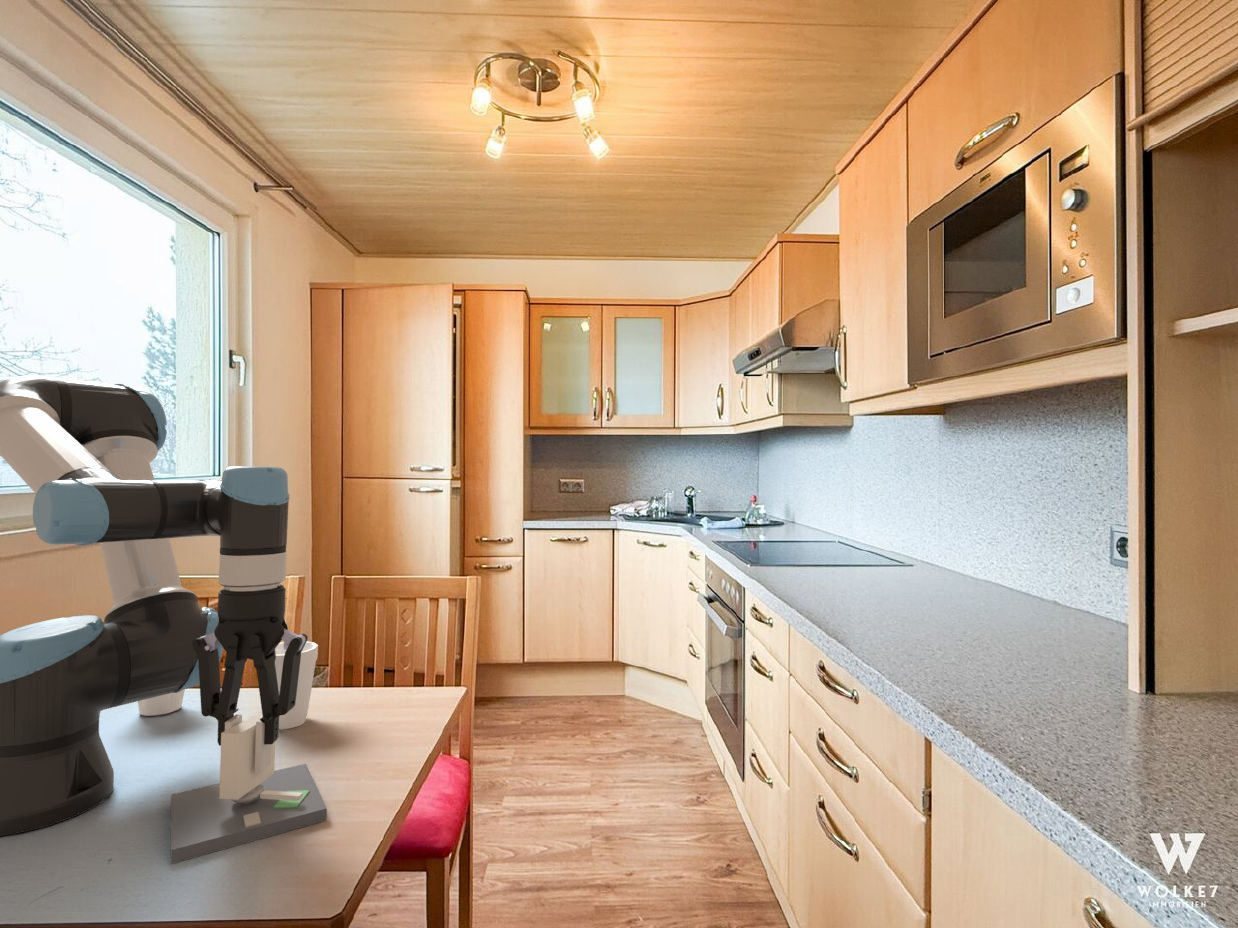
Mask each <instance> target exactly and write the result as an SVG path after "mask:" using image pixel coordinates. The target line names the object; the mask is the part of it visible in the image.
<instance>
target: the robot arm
mask: <svg viewBox="0 0 1238 928" xmlns="http://www.w3.org/2000/svg"><path fill="white" fill-rule="evenodd" d="M167 425H168V423H167V416H166V413H165V409H164V407H163V405H162V403H161V402H160V400H159V398H158V397H157V396H156V395H155V394H153V393H152V392H151V391H149V390H147V389H144V388H141V387H137V386H136V387H135V386H130V385H127V384H123V383H114V384H108V383H100V382H93V381H86V380H85V381H84V380H78V379H77V380H76V379H67V378H59V377H58V378H57V377H51V376H41V375H24V376H15V377H12V378H7V379H4V380H2V381H1V380H0V457H2V459H3V460H4V461H5V462H6V464H8V465H9V466H10V467H11V469H12V470H14V472H15V473H16V474H17V475H18V476H19V477H20V478H21V480H22V481H23V482H25V484H26V485H27V486H28V487H29V488H30V489H31V491H33V492H34V494H35V495H34V499H33V503H32V521H33V526H34V527H35V532H36V535H37V537H38V538H39V540H41V541H42V542H44V543H46V544H49V545H55V546H59V545H76V546H87V545H88V546H89V545H92V544H100V547H101V553H102V556H103V561H104V565H105V570H106V574H107V579H108V583H109V589H110V593H111V596H112V597H111V598H112V602H113V605H112V607H111V608H110V609H109V610H108V611H107V612H106V613H105V615H104V617H103V620H102V618H101V617H100V616H97V615H91V614H87V615H82V614H81V615H74V616H70V617H60V618H53V619H48V620H43V621H40V622H39V621H38V622H35V623H31V624H27V625H24V626H20V627H17V628H13V629H12V630H9V631H7V632H4V633H2V634H0V836H7V835H8V836H9V835H13V834H19V833H23V832H24V833H26V832H29V831H32V830H37V829H42V828H44V827H47V826H51V825H54V824H57V823H60V822H63V821H66V820H68V819H70V818H74V817H75V816H77V815H80V814H82V813H85V812H86V811H89V810H90V809H93V808H95V807H96V806H97V805H100V804H101V803H102V802H103V801H105V800H106V799H107V798H108V797H109V796H110V795H111V794H112V792H113V790H114V782H115V781H114V780H115V772H114V768H113V765H112V763H111V761H110V758H109V756H108V752H107V749H106V748H105V746H104V743H103V740H102V739H101V736H100V715H101V712H102V711H104V710H107V709H108V710H109V709H112V708H115V707H116V708H117V707H121V706H124V705H127V704H132V703H138V701H141V700H145V699H149V698H153V697H157V696H161V695H165V694H169V693H178V692H180V691H182V690H184V689H185V690H186V689H187V690H188V689H190V688H193V687H197V686H199V695H200V712H201V713H200V714H201V716H203V717H205V718H206V717H212V718H214V719H215V720H217V744H218V746H219V747H221V733H222V732H224V731H226V730H228V729H229V728H231V727H233V726H235V725H237V724H239V723H240V722H242V721H243V714H235V713H236V712H238V711H239V710H240V709H239V707H238V701H239V695H240V690H241V686H242V681H243V675H244V669H245V665H246V662H247V661H248V660H252V661H253V667H254V668H255V669H256V674H257V675H256V677H257V682H258V683H257V684H258V691H259V698H260V699H259V700H260V707H261V712H262V715H263V717H262V718H260V719H259V720H258V721H257V722H256V743H255V774H261V773H262V772H263V771H264V770H265V769H266V768H267V767H268V766H269V765H270V764H271V744H273V743H274V742H275V743H276V741H277V740H278V738H279V731H280V730H279V716H280V715H285V714H286V713H287V712H289V711H290V710H291V709H292V708H293V707H294V706H295V702H296V694H297V685H298V677H299V668H300V659H301V652H302V650H303V648H304V646H305V644H306V642H307V641H308V639H309V638H308V635H307V634H306V633H300V634H297V633H295V632H294V631H291V630H289V627H288V624H287V623H286V621H285V612H286V589H287V588H286V587H285V586H284V585H283V584H282V583H283V582H285V580H286V577H287V576H286V575H287V545H288V544H287V543H288V525H289V524H288V523H289V522H288V521H289V520H288V519H289V501H290V494H289V484H288V483H289V480H288V478H289V477H288V473H287V471H286V470H285V469H284V468H282V467H278V466H277V467H275V466H274V467H273V466H228V467H227V468H225V469H224V470H223V472H222V477H221V480H215V479H195V480H155V478H154V473H153V470H152V466H151V463H152V462H154V460H155V459H156V457H157V455H158V452H159V451H160V450H161V449H162V448H163V446H164V444H165V442H166V440H167V439H166V438H167V433H168V430H167V429H166V426H167ZM207 536H208V537H209V536H210V537H219V539H220V541H219V546H220V547H219V570H218V584H219V585H220V586H222V588H221V589H220V591H218V594H217V595H218V596H217V597H218V600H217V610H215V608H212V607H206V606H202V607H201V606H200V604H199V600H198V597H197V593H196V592H194V591H192V590H190V589H188V588H185V587H183V586H182V582H181V579H180V574H179V570H178V566H177V562H176V557H175V555H174V551H173V548H172V542H171V539H180V538H194V537H207ZM282 640H283V642H284V649H285V650H286V652H285V655H284V660H283V669H282V677H281V686H280V694H279V690H278V683H277V675H276V668H275V660H276V654H275V648H276V647H277V645H278V644H279V643H281V642H282ZM224 651H225V652H226V654H225V658H224V668H225V669H224V674H223V679H222V686H221V673H220V672H221V671H220V662H221V659H222V654H223V652H224Z"/></svg>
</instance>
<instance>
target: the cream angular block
mask: <svg viewBox="0 0 1238 928" xmlns="http://www.w3.org/2000/svg"><path fill="white" fill-rule="evenodd" d="M262 717H263V715H262V711H261V712H260V711H258V712H256V713H255V714H253V715H252V716H250V717H248V718H246V719H244V720H242V722H240V723H239V724H237V725H235V726H233V727H231V728H229V729H228V730H226V731H224V732H222V733H221V746H220V758H219V759H220V762H219V763H220V766H219V783H220V795H219V799H231V800H232V801H233V802H236V803H241V804H249V803H252V802H253V801H254V800H255V799H258V798H259V797H260V798H261V799H276V800H290V801H299V800H300V799H301V798H303V793H299V792H284V791H269V790H264V787H263V786H262V785H259V784H260V783H262V782H263V781H264V780H266V779H267V778H269V777H270V776H271V775H273V774H274V771H275V758H276V757H275V756H276V755H275V753H276V752H275V751H276V741H275V742H274V743H273V744H271V764H270V765H269V766H268V767H267V768H266V769H265V770H264V771H263V772H262V773H261V774H255V743H256V722H257V721H258V720H259V719H260V718H262Z"/></svg>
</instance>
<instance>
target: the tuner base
mask: <svg viewBox="0 0 1238 928" xmlns="http://www.w3.org/2000/svg"><path fill="white" fill-rule="evenodd" d="M311 773H312V772H311V771H310V769H309V767H308V765H307V763H304V764H303V763H302V764H298V765H294V766H290V767H286V768H282V769H281V768H280V769H276V770H274V774H273V775H271V776H270V777H269V778H267V779H266V780H264V781H263V782H262V783H260V784H259V785H262V786H263V787H264V790H269V791H284V792H299V793H303V798H301V799H300V800H299V801H290V800H276V799H261V798H260V797H259V798H258V799H255V800H254V801H253V802H252V803H249V804H241V803H236V802H233V801H232V800H231V799H219V795H220V782H219V783H215V784H211V785H210V784H209V785H207V786H206V785H205V786H203V787H197V788H193V789H188V790H184V791H183V790H182V791H180V792H174V793H171V796H170V797H171V798H170V864H174V863H175V864H177V863H178V862H182V861H185V860H186V861H187V860H190V859H193V858H197V857H200V856H203V855H207V854H211V853H214V852H218V851H221V850H225V849H229V848H233V847H236V846H240V845H243V844H247V843H250V842H255V841H257V840H260V839H265V838H269V837H271V836H275V835H279V834H283V833H286V832H291V831H293V830H298V829H300V828H304V827H308V826H312V825H315V824H318V823H323V822H325V821H327V815H328V814H327V810H328V809H327V806H326V804H325V802H324V800H323V798H322V795H321V793H320V790H319V788H318V787H317V785H316V782H315V780H314V778H313V775H312V774H311Z"/></svg>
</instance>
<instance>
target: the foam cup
mask: <svg viewBox="0 0 1238 928" xmlns="http://www.w3.org/2000/svg"><path fill="white" fill-rule="evenodd" d="M285 652H286V650H285V649H284V641H283V642H282V641H281V642H280V643H279V644H278V645H277V647H276V648H275V654H276V660H275V668H276V675H277V683H278V690H279V694H280V686H281V677H282V669H283V660H284V655H285ZM318 656H319V644H317V643H316V642H312V641H308V640H307V642H306V644H305V646H304V648H303V650H302V652H301V659H300V668H299V677H298V685H297V694H296V702H295V706H294V707H293V708H292V709H291V710H290V711H289V712H287V713H286V714H285V715H280V716H279V731H280V730H281V731H282V730H288V729H292V728H296V727H299V726H301V725H303V724H304V723H306V721H307V717H308V713H309V706H310V700H311V694H312V688H313V683H314V682H313V681H314V676H315V675H314V674H315V669H316V663H317V660H318Z"/></svg>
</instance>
